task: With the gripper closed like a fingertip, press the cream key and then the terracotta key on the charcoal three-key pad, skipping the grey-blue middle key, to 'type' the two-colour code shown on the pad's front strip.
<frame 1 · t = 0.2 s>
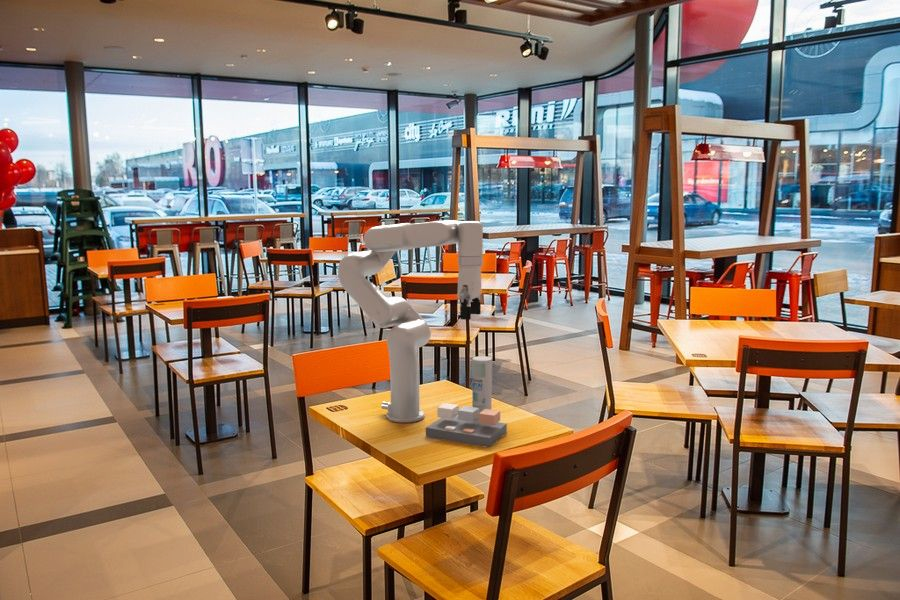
hand: (470, 316, 214), 36 cm above the table, tool pointing down, fingers open, 9 cm apart
spray can: (481, 417, 230), on the table
grey key: (468, 413, 213), point 6 cm above the table, slide at 0.0 cm
key pad: (466, 434, 212), on the table
terracotta key: (489, 416, 210), point 6 cm above the table, slide at 0.0 cm
cream key: (448, 410, 216), point 6 cm above the table, slide at 0.0 cm
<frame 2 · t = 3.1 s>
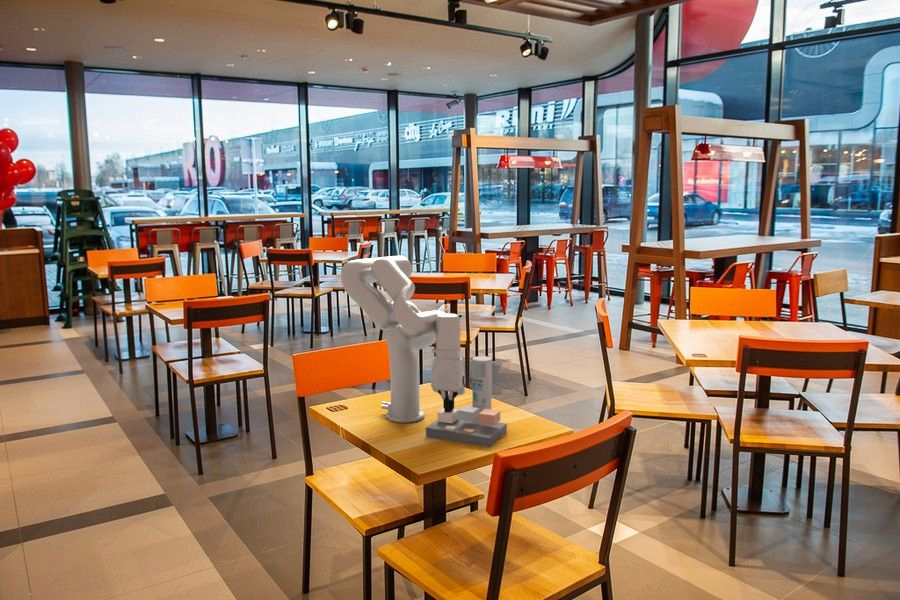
hand: (448, 410, 216), 6 cm above the table, tool pointing down, fingers closed
cream key: (448, 415, 216), point 5 cm above the table, slide at 1.5 cm, touching gripper
everything else where it was.
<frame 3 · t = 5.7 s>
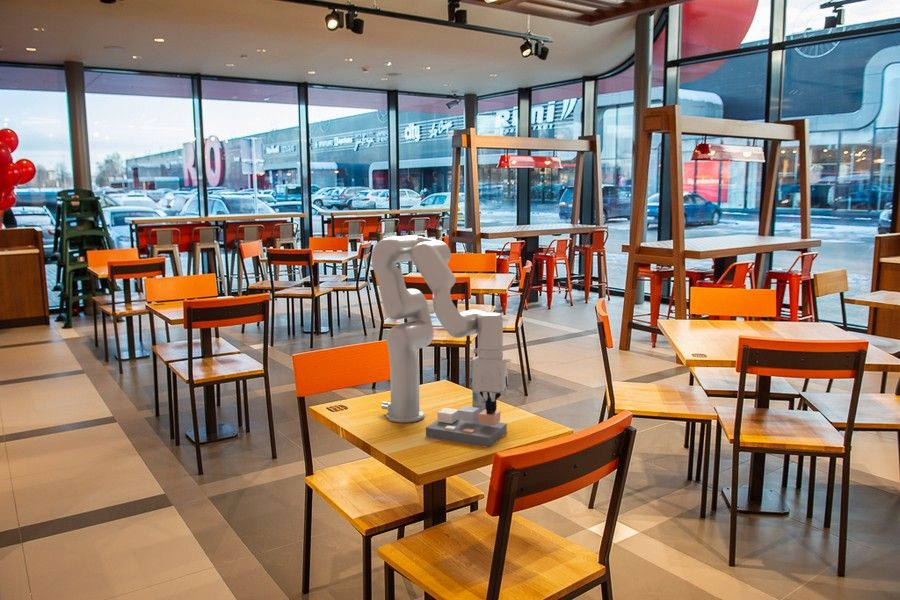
hand: (491, 412, 209), 8 cm above the table, tool pointing down, fingers closed
terracotta key: (489, 417, 210), point 6 cm above the table, slide at 0.1 cm, touching gripper
cream key: (448, 415, 216), point 5 cm above the table, slide at 1.5 cm
everything else where it was.
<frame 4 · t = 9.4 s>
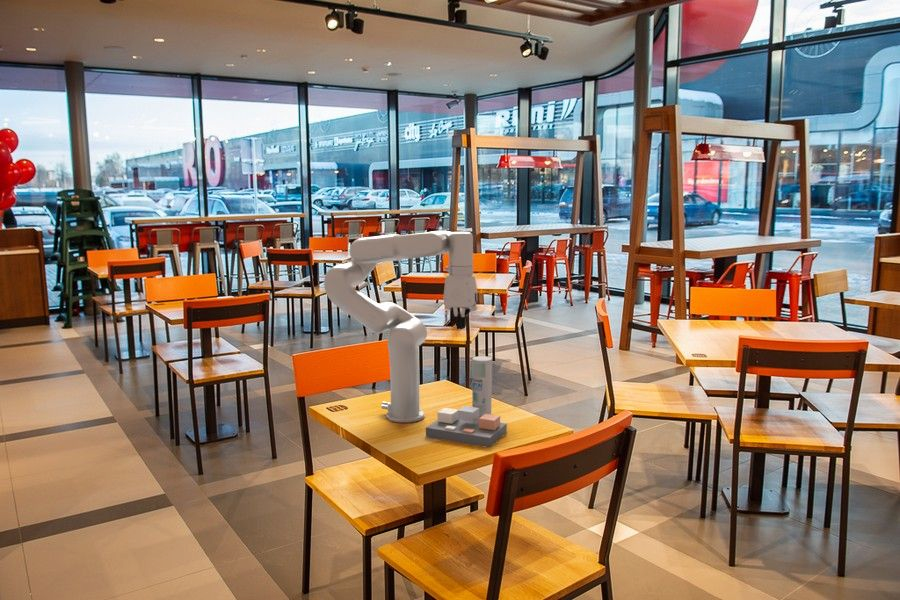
hand: (460, 328, 219), 31 cm above the table, tool pointing down, fingers closed
terracotta key: (489, 421, 210), point 5 cm above the table, slide at 1.6 cm
everything else where it was.
at the end: cream key slide at 1.5 cm; terracotta key slide at 1.6 cm; grey key slide at 0.0 cm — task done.
